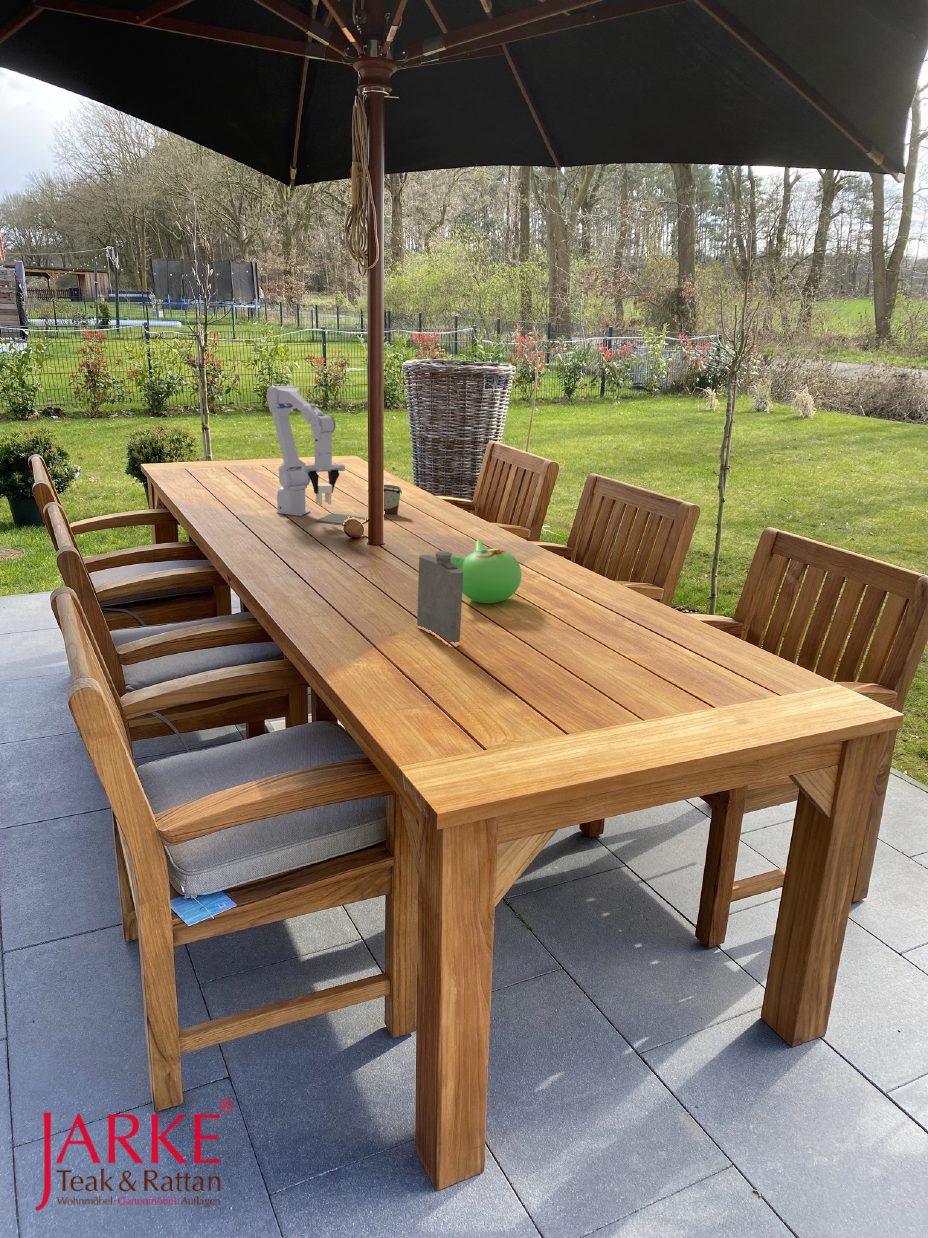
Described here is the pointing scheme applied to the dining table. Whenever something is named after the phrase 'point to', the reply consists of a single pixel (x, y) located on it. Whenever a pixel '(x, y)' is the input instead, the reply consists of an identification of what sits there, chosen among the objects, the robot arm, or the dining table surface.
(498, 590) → the toy bird
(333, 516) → the mat
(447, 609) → the hip flask
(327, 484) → the cream block with pegs
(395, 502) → the food container
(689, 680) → the dining table surface
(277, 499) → the robot arm
